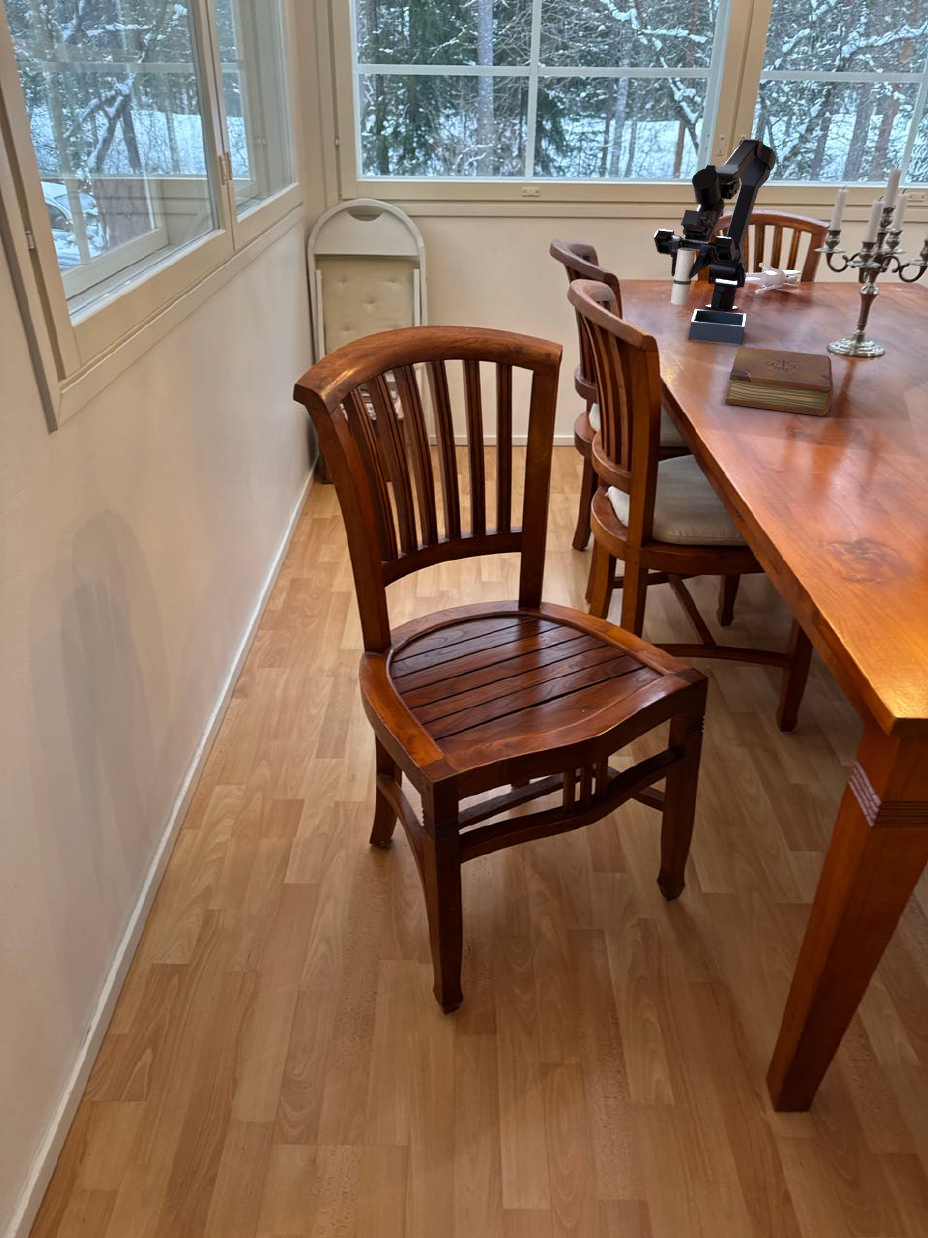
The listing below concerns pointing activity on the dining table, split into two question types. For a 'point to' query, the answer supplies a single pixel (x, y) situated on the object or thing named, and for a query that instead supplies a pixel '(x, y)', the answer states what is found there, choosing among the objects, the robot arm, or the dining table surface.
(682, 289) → the light grey piece
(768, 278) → the figurine
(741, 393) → the diary
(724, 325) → the box
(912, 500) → the dining table surface
